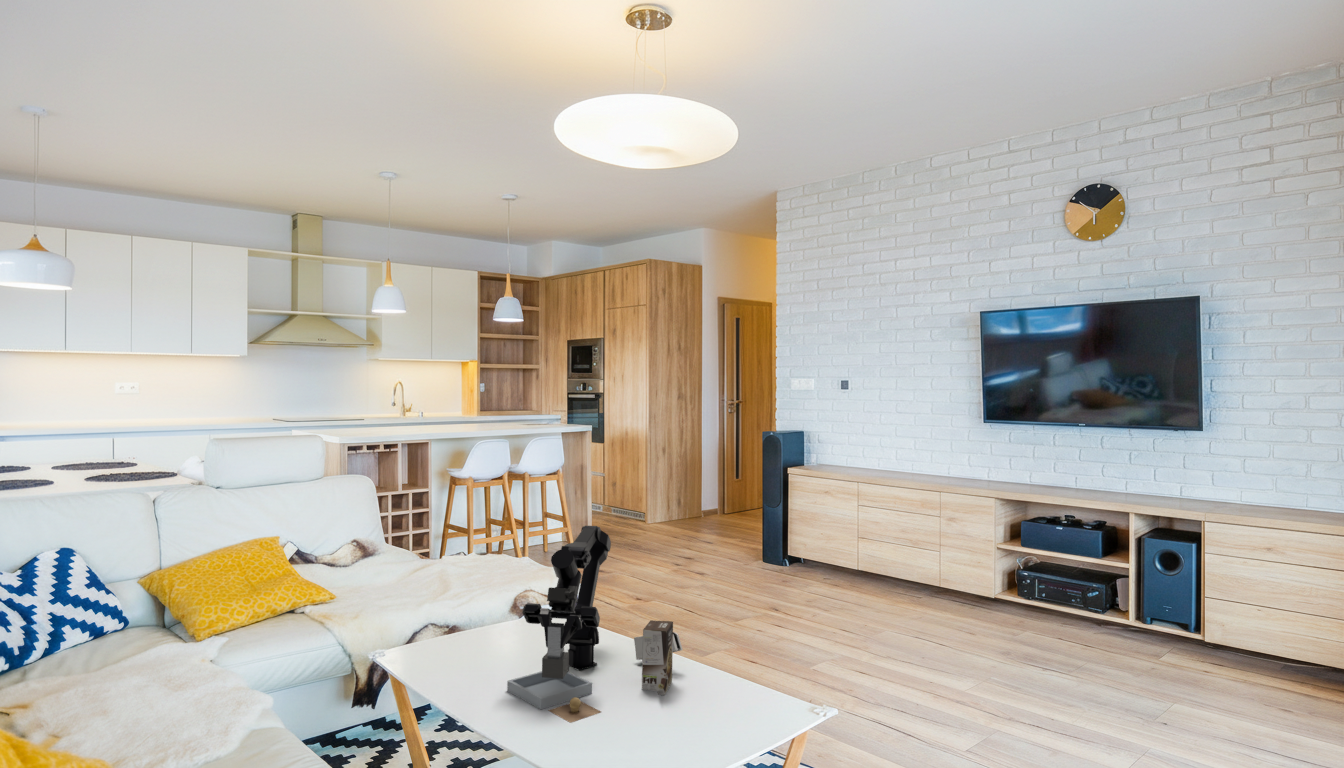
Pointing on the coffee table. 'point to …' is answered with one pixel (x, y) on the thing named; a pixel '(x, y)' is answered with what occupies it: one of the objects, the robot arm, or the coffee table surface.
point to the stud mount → (574, 710)
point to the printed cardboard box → (639, 645)
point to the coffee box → (657, 656)
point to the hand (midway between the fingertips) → (554, 647)
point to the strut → (555, 654)
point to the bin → (548, 689)
